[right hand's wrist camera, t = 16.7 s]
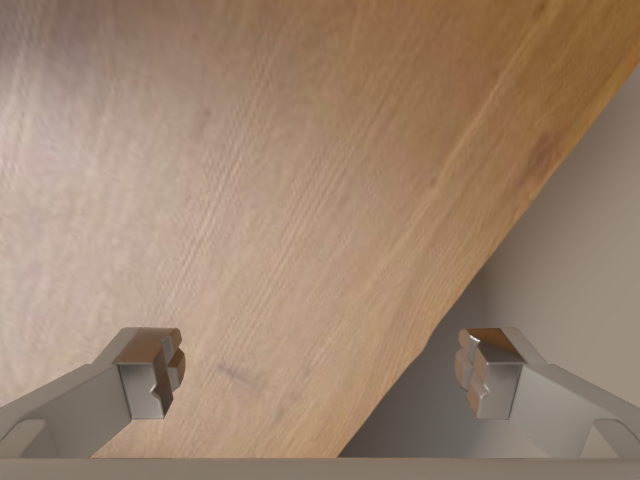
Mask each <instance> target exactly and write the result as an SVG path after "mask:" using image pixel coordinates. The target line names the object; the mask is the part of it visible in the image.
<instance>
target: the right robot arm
mask: <svg viewBox="0 0 640 480" xmlns="http://www.w3.org/2000/svg"><path fill="white" fill-rule="evenodd" d="M181 341H182V338H181V333H180V330H179V329H177V328H149V327H143V328H142V327H126V328H123V329H121V330H120V332H119V333H118V334H117V335H116V336H115V337H114V339H113V340H112V341H111V342H110V343H109V344H108V345H107V347H106V348H105V349H104V350H103V351H102V352H101V354H100V355H99V356H98V357H97V358H96V359H95V360H94V362H93V363H92V364H85V365H83V366H81V367H79V368H77V369H75V370H73V371H72V372H70V373H68V374H66V375H64V376H62V377H60V378H58V379H56V380H54V381H52V382H50V383H48V384H46V385H44V386H42V387H40V388H38V389H36V390H34V391H33V392H31V393H29V394H27V395H25V396H23V397H21V398H19V399H17V400H15V401H13V402H11V403H9V404H7V405H5V406H3V407H1V408H0V480H640V408H638V407H636V406H635V405H633V404H631V403H629V402H627V401H625V400H623V399H621V398H619V397H617V396H615V395H613V394H611V393H609V392H607V391H605V390H603V389H601V388H600V387H598V386H596V385H594V384H592V383H590V382H588V381H586V380H584V379H582V378H580V377H578V376H576V375H574V374H572V373H570V372H568V371H566V370H565V369H563V368H561V367H559V366H557V365H555V364H548V363H547V362H546V361H545V359H544V358H543V357H542V356H541V355H540V354H539V352H538V351H537V350H536V349H535V348H534V347H533V345H532V344H531V343H530V342H529V341H528V340H527V339H526V337H525V336H524V335H523V334H522V333H521V332H520V330H519V329H517V328H515V327H501V328H463V329H461V331H460V333H459V338H458V341H459V343H460V345H461V347H462V348H461V349H460V350H459V351H458V352H457V353H456V356H455V373H456V377H457V380H458V382H459V384H460V386H461V387H462V388H463V389H464V390H466V391H467V392H468V394H467V401H468V403H469V405H470V407H471V409H472V411H473V413H474V415H475V417H476V419H499V420H509V422H510V423H511V424H512V425H513V426H515V427H516V428H517V429H518V430H519V431H520V432H522V433H523V434H524V435H525V436H526V437H527V438H529V439H530V440H531V441H532V442H533V443H535V444H536V445H537V446H538V447H539V448H540V449H542V450H543V451H544V452H545V453H546V454H547V455H549V456H550V457H551V458H89V457H90V456H92V455H93V454H94V453H95V452H96V451H97V450H99V449H100V448H101V447H102V446H103V445H104V444H106V443H107V442H108V441H109V440H110V439H111V438H113V437H114V436H115V435H116V434H117V433H119V432H120V431H121V430H122V429H123V428H124V427H126V426H127V425H128V424H129V423H130V422H131V420H140V419H164V417H165V415H166V413H167V411H168V409H169V407H170V405H171V403H172V401H173V394H172V392H173V391H174V390H176V389H177V388H178V387H180V384H181V382H182V380H183V377H184V372H185V355H184V353H183V352H182V351H181V350H180V349H179V348H178V347H179V345H180V343H181Z"/></svg>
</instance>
